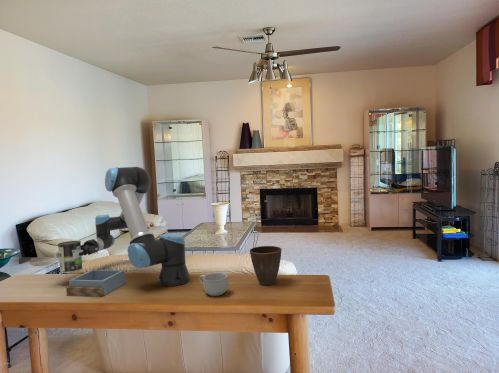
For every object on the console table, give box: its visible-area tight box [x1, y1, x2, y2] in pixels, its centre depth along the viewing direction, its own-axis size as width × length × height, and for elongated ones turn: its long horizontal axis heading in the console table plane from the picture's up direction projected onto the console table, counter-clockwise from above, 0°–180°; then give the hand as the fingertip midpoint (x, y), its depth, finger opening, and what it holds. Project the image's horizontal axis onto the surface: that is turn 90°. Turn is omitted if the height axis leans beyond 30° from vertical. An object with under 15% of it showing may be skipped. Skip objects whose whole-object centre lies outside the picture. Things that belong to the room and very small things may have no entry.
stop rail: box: [65, 285, 105, 298], centre depth 166 cm, size 18×2×4 cm, turn 77°
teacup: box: [199, 271, 229, 297], centre depth 163 cm, size 14×11×8 cm
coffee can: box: [57, 240, 83, 274], centre depth 185 cm, size 10×10×14 cm
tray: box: [68, 269, 126, 296], centre depth 175 cm, size 17×17×6 cm
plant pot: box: [249, 245, 282, 286], centre depth 174 cm, size 15×15×16 cm
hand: (64, 255), depth 181 cm, fingers closed on coffee can, 10 cm apart
